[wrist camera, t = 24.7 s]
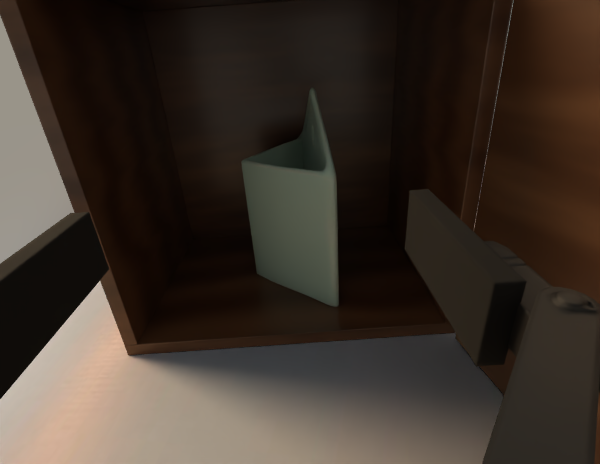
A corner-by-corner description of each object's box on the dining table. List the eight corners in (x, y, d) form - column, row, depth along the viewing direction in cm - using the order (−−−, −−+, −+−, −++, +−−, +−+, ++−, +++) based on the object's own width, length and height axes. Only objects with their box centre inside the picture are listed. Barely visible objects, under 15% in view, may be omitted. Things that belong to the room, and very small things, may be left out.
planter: (254, 241, 49) (233, 88, 40) (310, 234, 50) (301, 82, 41) (260, 318, 34) (229, 103, 26) (340, 306, 35) (336, 94, 26)
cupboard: (456, 332, 33) (530, -99, 19) (128, 355, 33) (-29, -59, 19) (393, 229, 52) (407, -20, 39) (188, 243, 52) (132, 0, 39)
